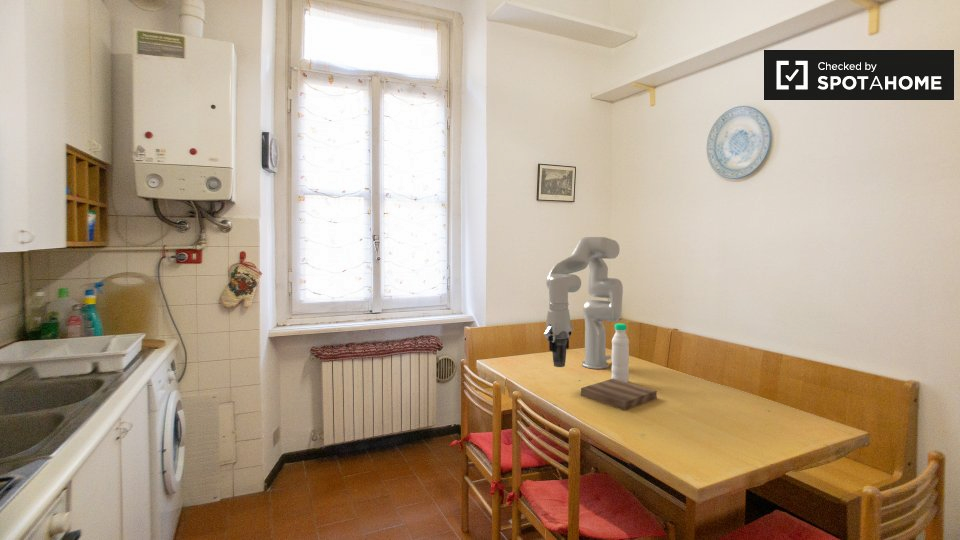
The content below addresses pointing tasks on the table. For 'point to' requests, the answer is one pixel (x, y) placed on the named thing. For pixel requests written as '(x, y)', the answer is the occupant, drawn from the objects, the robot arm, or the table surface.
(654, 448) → the table surface
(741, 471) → the table surface
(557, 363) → the beverage cup
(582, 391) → the walnut base board
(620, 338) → the water bottle
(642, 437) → the table surface
